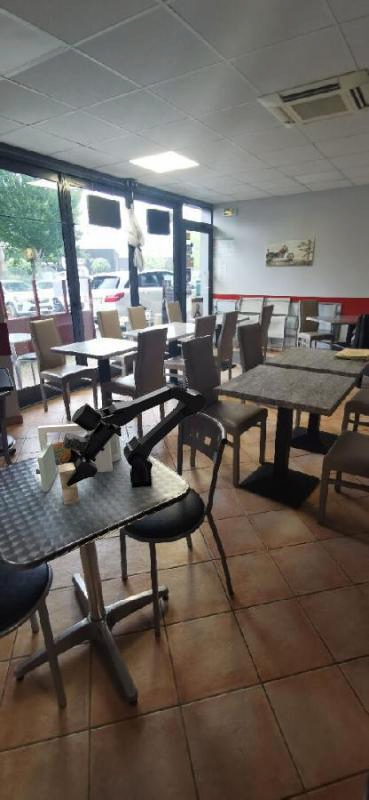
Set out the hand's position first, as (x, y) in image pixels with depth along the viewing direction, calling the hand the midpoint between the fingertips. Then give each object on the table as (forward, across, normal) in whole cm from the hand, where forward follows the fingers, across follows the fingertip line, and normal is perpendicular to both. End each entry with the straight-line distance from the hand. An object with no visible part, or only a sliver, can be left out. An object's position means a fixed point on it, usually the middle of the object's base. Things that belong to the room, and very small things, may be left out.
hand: (65, 478), depth 122 cm
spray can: (-8, -22, +18) cm, 29 cm away
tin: (+4, -28, +7) cm, 29 cm away
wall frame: (+1, -16, +9) cm, 19 cm away
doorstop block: (+5, 0, +6) cm, 7 cm away
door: (+9, -13, +1) cm, 16 cm away
